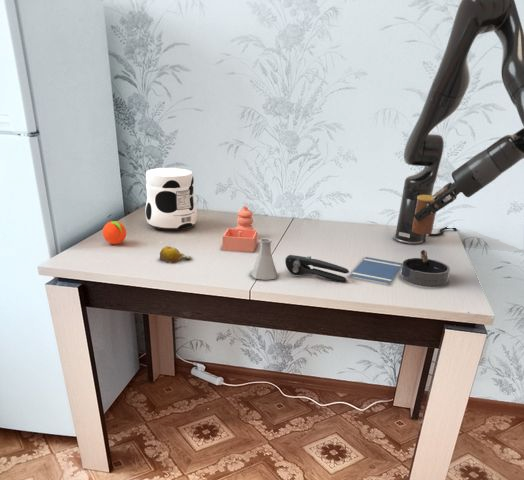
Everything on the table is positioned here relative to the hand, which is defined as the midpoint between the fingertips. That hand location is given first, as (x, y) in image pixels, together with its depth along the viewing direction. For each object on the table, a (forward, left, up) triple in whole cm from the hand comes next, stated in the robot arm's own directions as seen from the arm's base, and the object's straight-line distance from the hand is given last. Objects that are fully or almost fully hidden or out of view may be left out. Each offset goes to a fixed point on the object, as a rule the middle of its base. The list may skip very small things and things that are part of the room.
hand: (417, 215), depth 132 cm
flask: (+38, -12, -17) cm, 43 cm away
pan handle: (-9, -4, -15) cm, 18 cm away
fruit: (+57, -32, -17) cm, 68 cm away
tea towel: (+6, -6, -17) cm, 19 cm away
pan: (-3, +4, -17) cm, 18 cm away
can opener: (+25, -7, -17) cm, 31 cm away
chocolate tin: (-1, +1, -4) cm, 4 cm away
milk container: (+50, -64, -17) cm, 83 cm away
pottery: (+33, -41, -17) cm, 56 cm away
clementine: (+71, -50, -17) cm, 89 cm away
